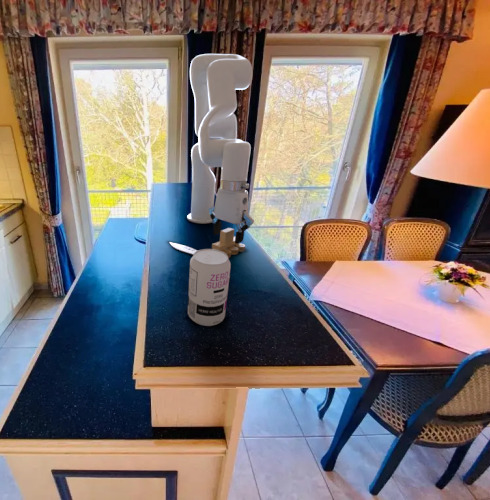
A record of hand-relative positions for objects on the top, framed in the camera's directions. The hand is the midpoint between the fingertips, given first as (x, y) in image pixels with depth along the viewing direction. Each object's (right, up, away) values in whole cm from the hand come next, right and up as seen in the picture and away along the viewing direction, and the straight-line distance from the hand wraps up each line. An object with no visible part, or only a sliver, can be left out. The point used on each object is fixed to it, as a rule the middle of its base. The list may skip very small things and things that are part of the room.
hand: (227, 237), depth 92 cm
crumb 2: (+5, -4, +2) cm, 6 cm away
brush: (0, -4, +2) cm, 4 cm away
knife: (-11, -7, -4) cm, 14 cm away
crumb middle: (+2, -5, 0) cm, 5 cm away
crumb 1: (-1, -6, -2) cm, 6 cm away
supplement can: (-12, -19, -29) cm, 37 cm away
